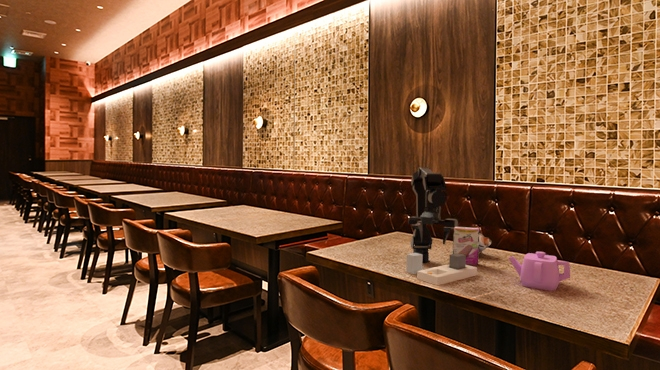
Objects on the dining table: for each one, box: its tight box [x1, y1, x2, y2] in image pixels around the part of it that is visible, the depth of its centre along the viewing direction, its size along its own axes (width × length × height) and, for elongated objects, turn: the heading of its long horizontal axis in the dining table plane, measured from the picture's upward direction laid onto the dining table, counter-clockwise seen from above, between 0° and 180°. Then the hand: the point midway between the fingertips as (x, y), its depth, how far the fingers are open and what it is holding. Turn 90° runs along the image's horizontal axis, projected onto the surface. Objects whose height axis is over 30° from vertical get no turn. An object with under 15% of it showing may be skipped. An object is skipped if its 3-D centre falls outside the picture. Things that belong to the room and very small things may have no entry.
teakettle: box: [508, 251, 571, 292], centre depth 153 cm, size 17×17×12 cm
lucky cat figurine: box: [479, 232, 492, 254], centre depth 201 cm, size 15×12×14 cm
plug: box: [405, 252, 423, 275], centre depth 166 cm, size 4×5×8 cm
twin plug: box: [448, 253, 466, 270], centre depth 163 cm, size 4×5×8 cm
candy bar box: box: [452, 226, 480, 266], centre depth 182 cm, size 11×5×16 cm, turn 71°
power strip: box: [416, 263, 478, 286], centre depth 160 cm, size 10×24×4 cm, turn 125°
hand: (432, 243), depth 162 cm, fingers open, 9 cm apart
